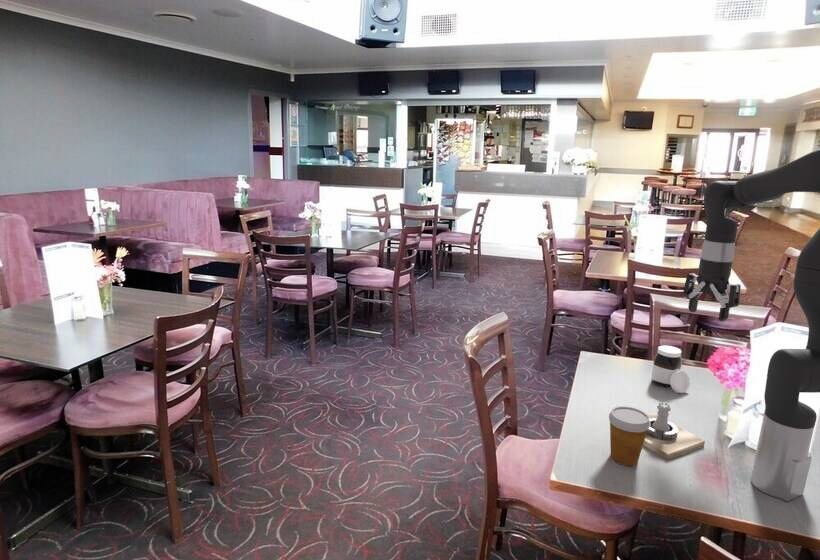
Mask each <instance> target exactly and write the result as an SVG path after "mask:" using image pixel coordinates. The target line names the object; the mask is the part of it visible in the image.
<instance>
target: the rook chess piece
mask: <svg viewBox="0 0 820 560" xmlns="http://www.w3.org/2000/svg"><path fill="white" fill-rule="evenodd" d="M656 408H657V410H658V411H657V419H656V421H655V422H654V423H653V424H652V428H653V429H655V430H658V431H661V432H669V431H670V427H669V425H668V421H669V420H668V419H669V416H670V414H669V412H671V408H670V404H668V403H666V402H665V403H664V402H659V404H658V405H657V407H656Z"/></svg>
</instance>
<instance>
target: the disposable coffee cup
mask: <svg viewBox="0 0 820 560" xmlns="http://www.w3.org/2000/svg"><path fill="white" fill-rule="evenodd" d="M608 419H609V429H610V430H609V435H610V436H609V439H610V440H609V442H610V444H609V445H610V449H609V450H610V459H611V460H612V461H613V462H615V463H617V464H619V465H621V466H625V467H634V466H636V465H637V464H638V463H639V459H640V455H641V452H642V450H643V449H642V448H643V446H644V445H643V443H644V440H645V437H646V433H647V430H648V429H649V427H650V426H651V422H650V420H649V416H648V414H647V413H646V412H644V411H643V410H641V409H639V408H636V407H632V406H625V405H623V406H622V405H621V406H616V407H614V408H613V407H612V409H611V411H610V412H609V413H608Z"/></svg>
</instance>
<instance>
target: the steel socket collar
mask: <svg viewBox="0 0 820 560" xmlns="http://www.w3.org/2000/svg"><path fill="white" fill-rule="evenodd" d="M656 419H657V418H649V420H650V422H651V426H650V427H649V429H648V430H647V433H646V434H647V435H649V436H650V437H652V438H655V439H659V440H664V441H671V440H674V439H676V438H677V434H678V428H677V427H676V426H677V425H676V424H675V423H673V422H671V421H669V420H668V425H669V427H670V432H661V431H658V430H655V429H653V428H651V427H652V424H653V423H654V422H655V421H656Z"/></svg>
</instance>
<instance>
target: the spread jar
mask: <svg viewBox="0 0 820 560" xmlns="http://www.w3.org/2000/svg"><path fill="white" fill-rule="evenodd" d="M682 365H683V358H682V350H681V349H680V348H678V347H677V346H672V345H660V346H658V347H657V353H656V355H655V356H654V360H653V364H652V371H651V377H650V378H651V381H652V382H653V383H654V384H655V385H657V386H659V387H663V388H668V389H669V388H671V389H672V390H673V391H674V392H675V393H680V394H684V393H686V392H687V391H688V390H689V387H690V384H691V383H690V382H691V381H690V376H689V375H688V373H687V372H686V371H684V370H682V367H683V366H682Z"/></svg>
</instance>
